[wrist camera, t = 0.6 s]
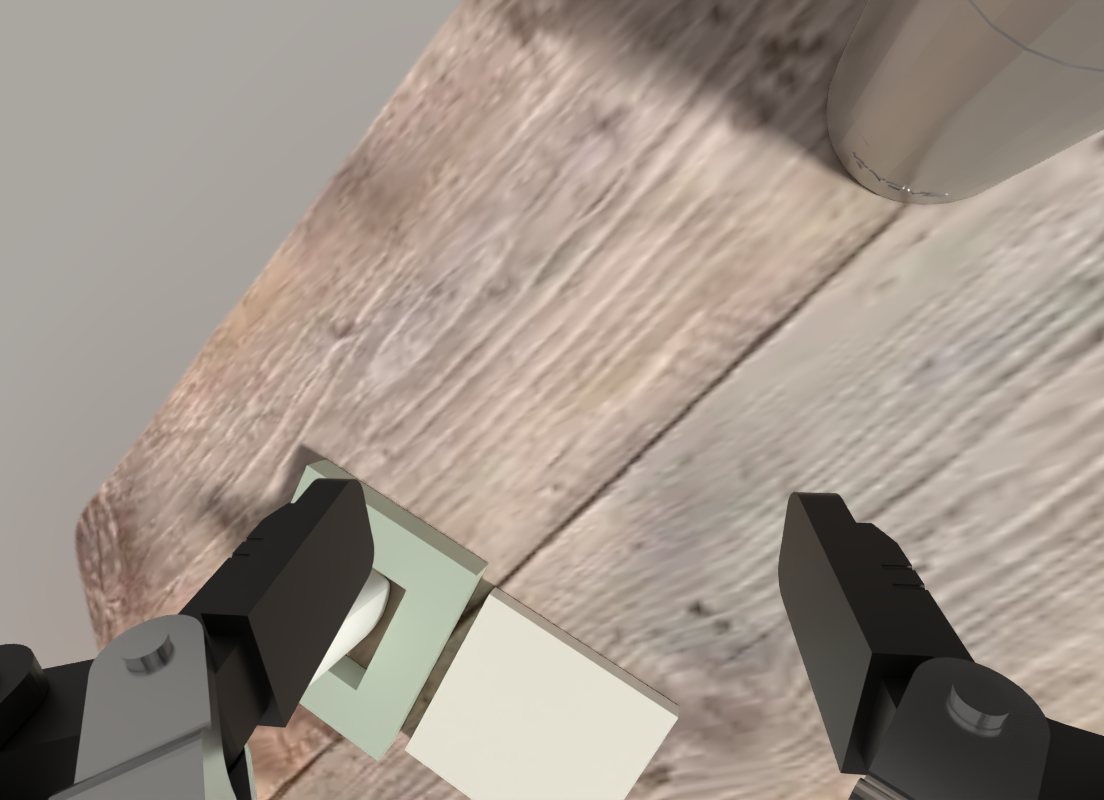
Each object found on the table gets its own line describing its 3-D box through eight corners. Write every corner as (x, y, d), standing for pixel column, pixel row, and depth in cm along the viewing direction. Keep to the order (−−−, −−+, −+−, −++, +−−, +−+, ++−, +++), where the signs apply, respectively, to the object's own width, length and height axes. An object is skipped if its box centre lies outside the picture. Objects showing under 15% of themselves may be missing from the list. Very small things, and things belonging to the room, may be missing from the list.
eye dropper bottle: (411, 618, 36) (272, 750, 25) (341, 648, 38) (180, 785, 26) (379, 554, 36) (226, 656, 25) (311, 586, 38) (137, 696, 26)
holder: (326, 458, 37) (307, 465, 35) (488, 563, 35) (476, 575, 33) (248, 635, 40) (227, 649, 38) (393, 742, 38) (378, 761, 36)
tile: (495, 586, 35) (489, 593, 34) (679, 706, 32) (678, 717, 32) (412, 739, 37) (404, 750, 36) (577, 859, 35) (574, 874, 34)
